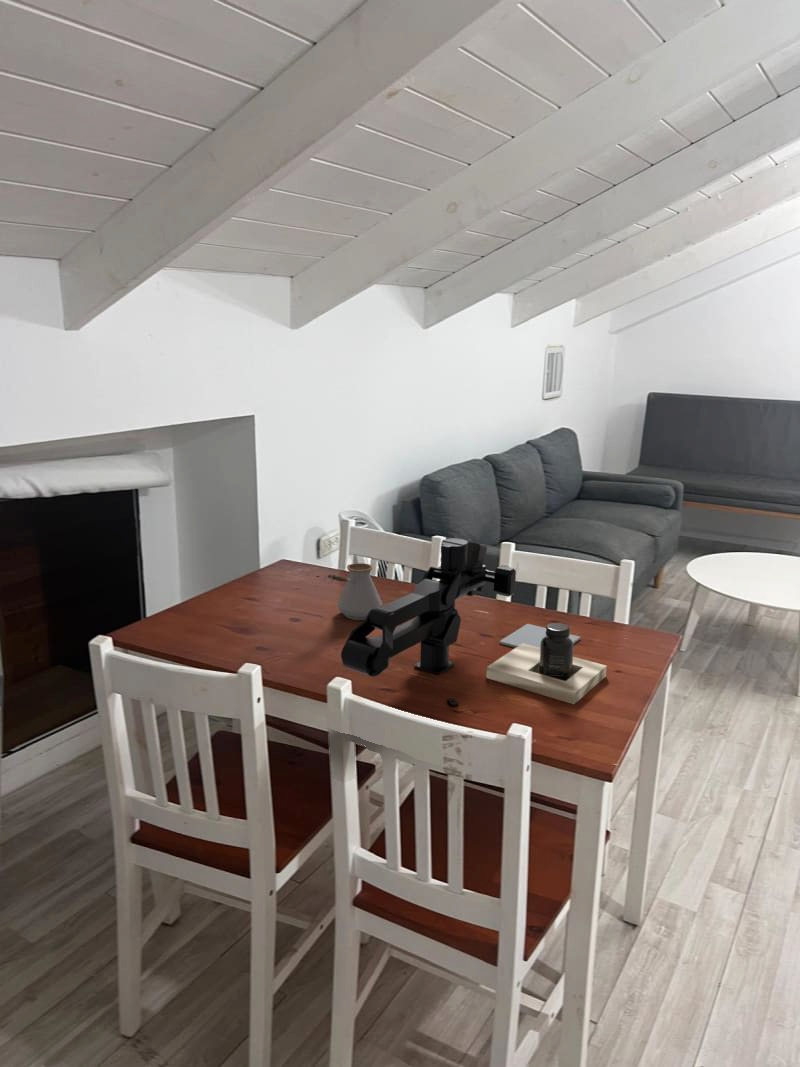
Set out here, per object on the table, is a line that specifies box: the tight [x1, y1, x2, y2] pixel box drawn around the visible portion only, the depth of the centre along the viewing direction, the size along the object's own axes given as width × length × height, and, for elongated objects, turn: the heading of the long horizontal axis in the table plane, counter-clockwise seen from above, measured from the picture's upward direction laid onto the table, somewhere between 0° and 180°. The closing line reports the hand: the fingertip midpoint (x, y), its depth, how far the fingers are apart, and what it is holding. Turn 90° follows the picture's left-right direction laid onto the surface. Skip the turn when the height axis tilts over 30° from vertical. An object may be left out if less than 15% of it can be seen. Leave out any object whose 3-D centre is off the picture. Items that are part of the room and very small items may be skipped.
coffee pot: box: [323, 562, 383, 621], centre depth 200 cm, size 21×12×15 cm, turn 154°
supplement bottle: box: [538, 622, 575, 681], centre depth 169 cm, size 7×7×12 cm
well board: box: [486, 643, 608, 705], centre depth 171 cm, size 16×20×2 cm
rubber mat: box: [499, 623, 581, 649], centre depth 190 cm, size 14×14×1 cm
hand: (495, 566), depth 192 cm, fingers open, 9 cm apart
